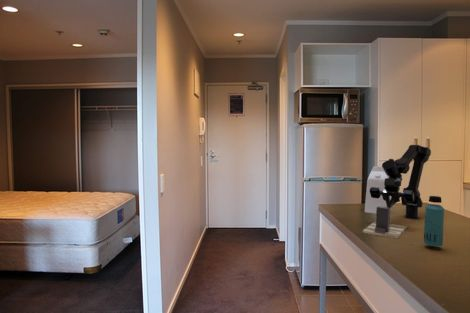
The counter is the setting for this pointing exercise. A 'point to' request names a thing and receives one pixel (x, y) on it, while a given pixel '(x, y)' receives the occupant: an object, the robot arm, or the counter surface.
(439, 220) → the beverage bottle
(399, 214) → the counter surface
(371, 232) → the console panel
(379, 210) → the fader cap
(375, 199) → the milk
